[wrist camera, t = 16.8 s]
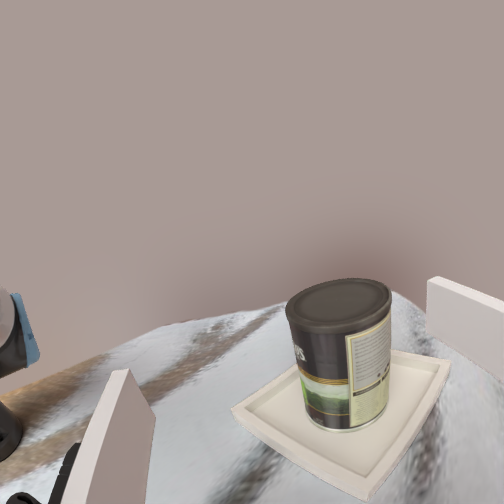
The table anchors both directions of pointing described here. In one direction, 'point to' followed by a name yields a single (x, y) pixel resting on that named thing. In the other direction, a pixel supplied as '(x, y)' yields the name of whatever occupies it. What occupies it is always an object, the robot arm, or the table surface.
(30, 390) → the table surface
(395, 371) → the serving tray
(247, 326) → the table surface
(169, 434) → the table surface
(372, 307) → the coffee can
